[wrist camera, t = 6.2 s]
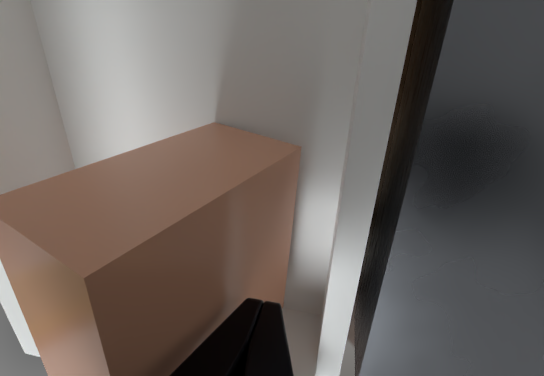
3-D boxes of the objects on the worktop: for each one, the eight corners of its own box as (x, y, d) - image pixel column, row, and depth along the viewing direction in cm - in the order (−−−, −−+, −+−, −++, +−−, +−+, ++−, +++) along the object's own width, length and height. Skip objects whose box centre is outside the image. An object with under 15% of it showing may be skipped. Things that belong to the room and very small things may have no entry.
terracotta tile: (141, 488, 7) (60, 406, 8) (283, 307, 12) (216, 271, 13) (83, 277, 4) (-24, 202, 6) (301, 146, 9) (214, 122, 10)
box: (340, 323, 14) (335, 429, 10) (98, 276, 15) (24, 353, 12) (472, -384, 6) (669, -1031, 2) (-64, -306, 7) (-426, -581, 4)
